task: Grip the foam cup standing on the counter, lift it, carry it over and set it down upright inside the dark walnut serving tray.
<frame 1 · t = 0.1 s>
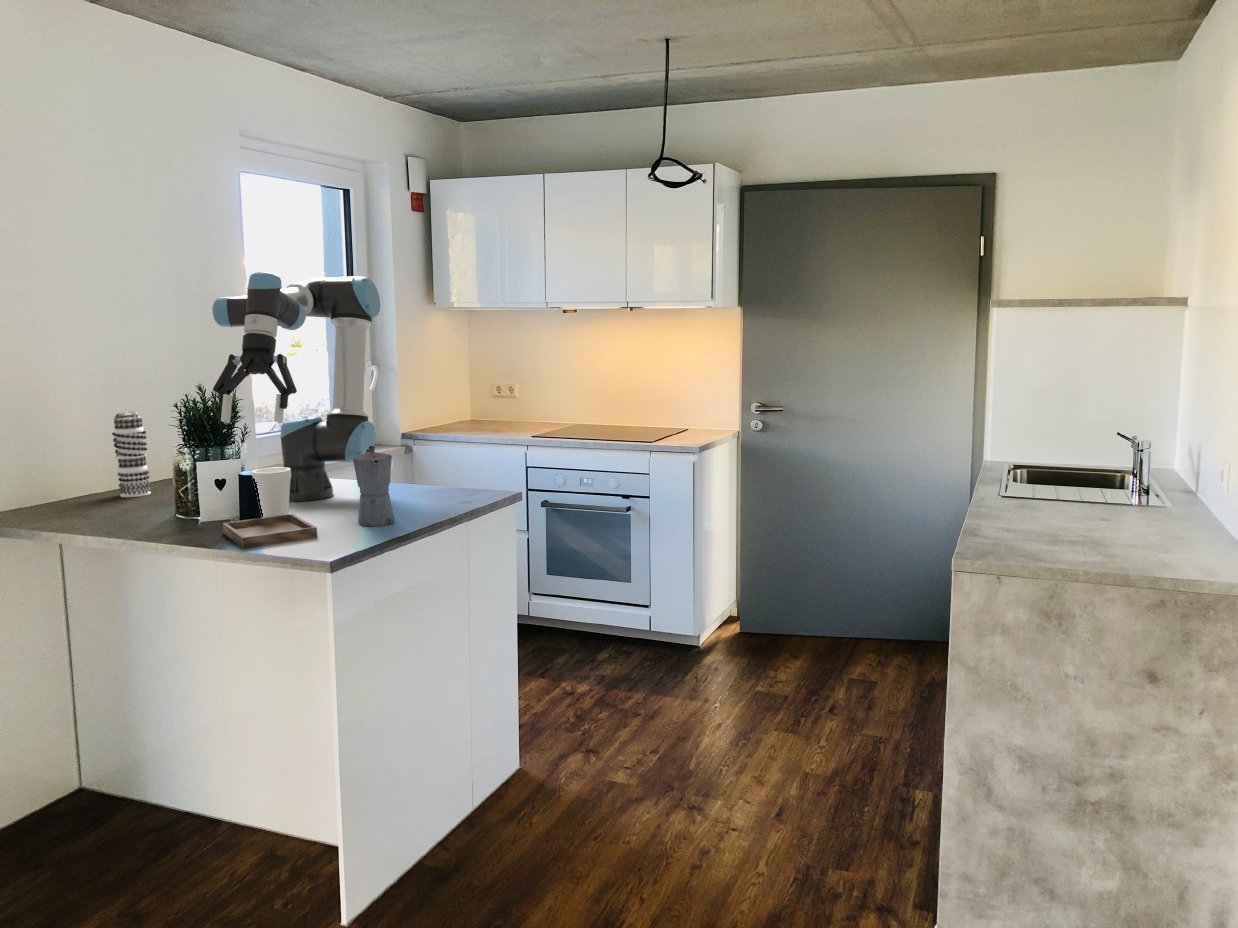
hand: (251, 422, 228), 28 cm above the counter, tool tilted 20°, fingers open, 13 cm apart
moka pot: (375, 523, 245), on the counter
walnut tray: (269, 535, 233), on the counter
foam cup: (275, 519, 252), on the counter
decorative candle: (135, 495, 291), on the counter
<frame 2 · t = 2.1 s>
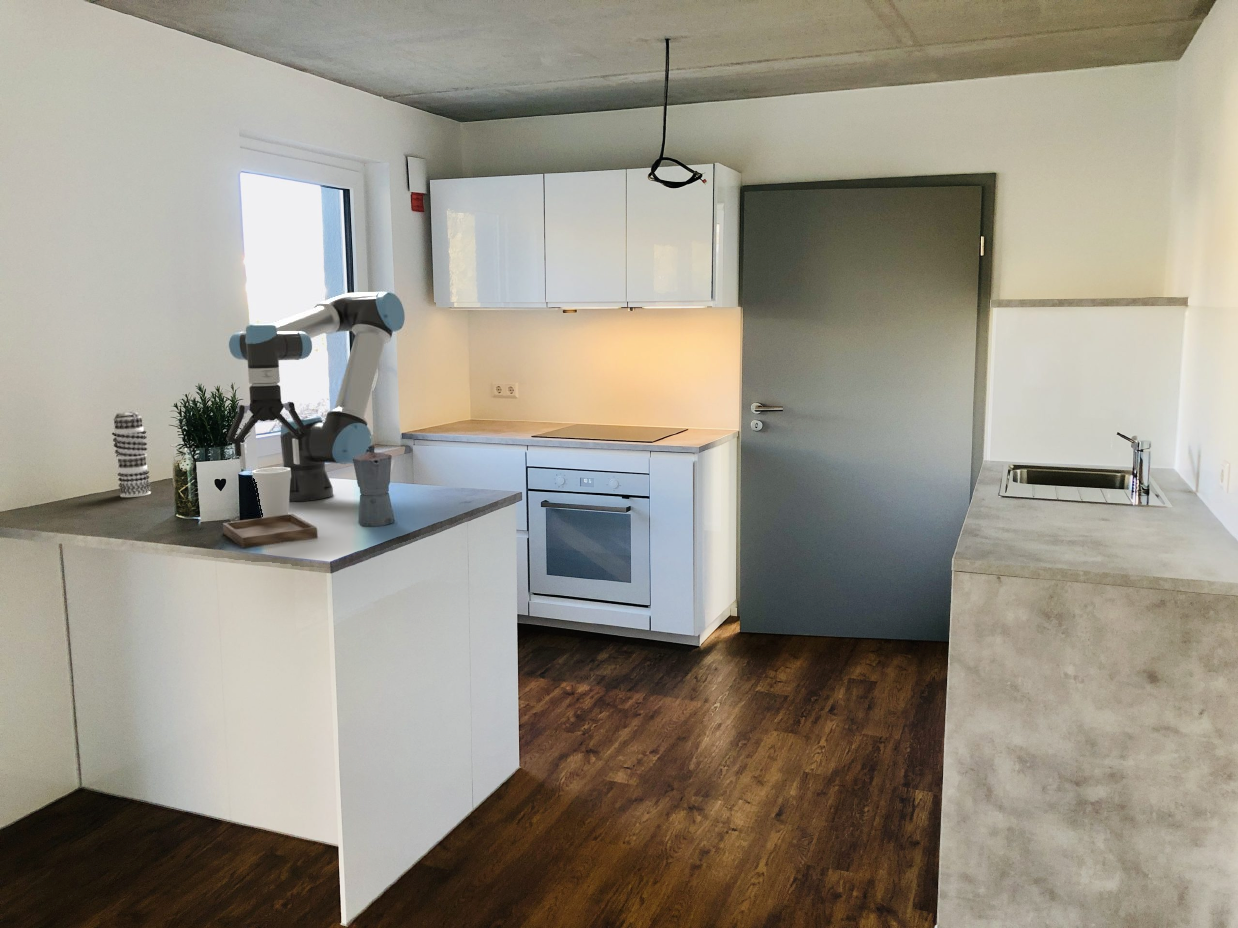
hand: (270, 466, 249), 14 cm above the counter, tool pointing down, fingers open, 13 cm apart
nothing on the counter moved.
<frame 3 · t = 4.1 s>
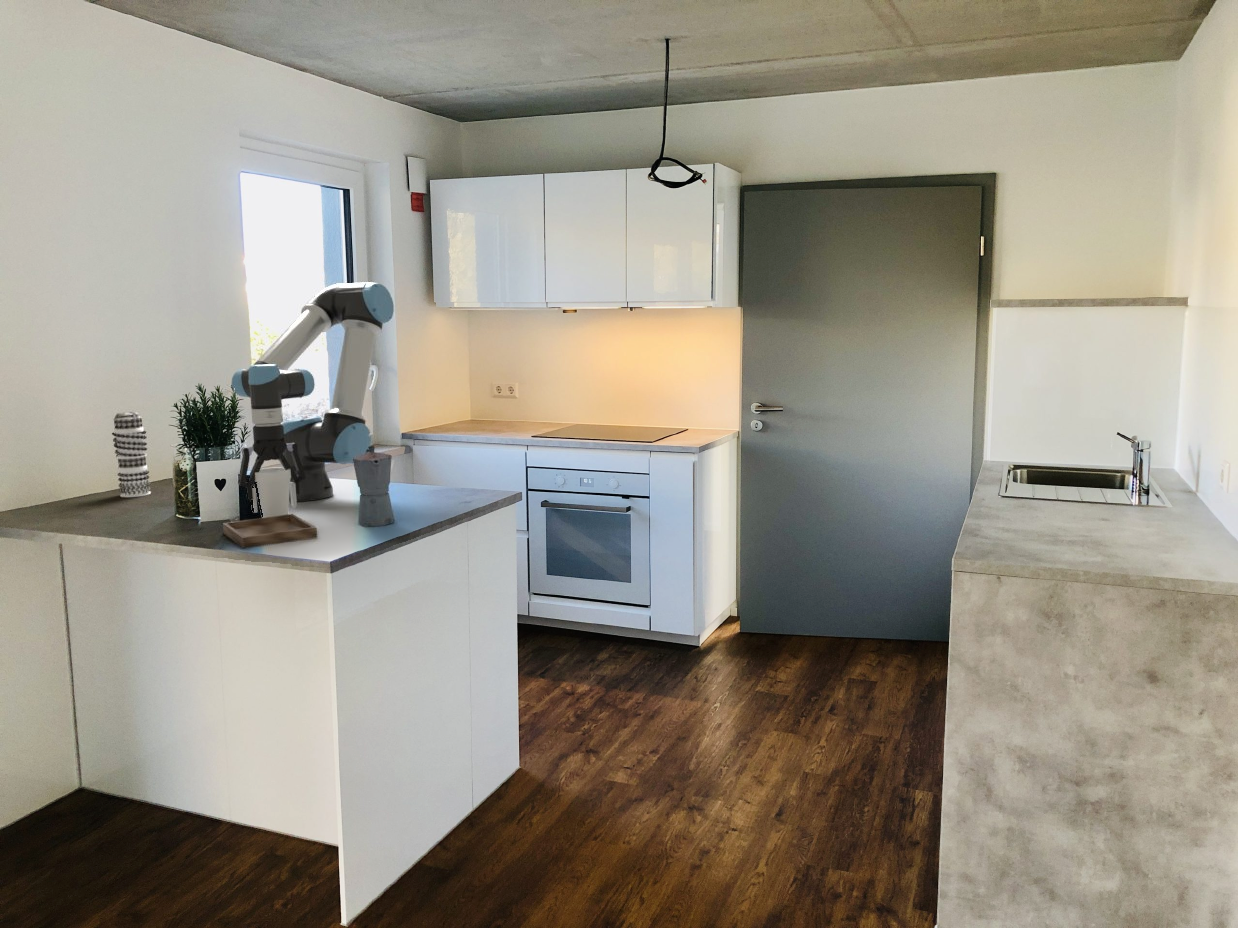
hand: (274, 509, 251), 3 cm above the counter, tool pointing down, fingers closed on foam cup, 9 cm apart
foam cup: (275, 519, 252), on the counter, touching gripper
everything else where it was.
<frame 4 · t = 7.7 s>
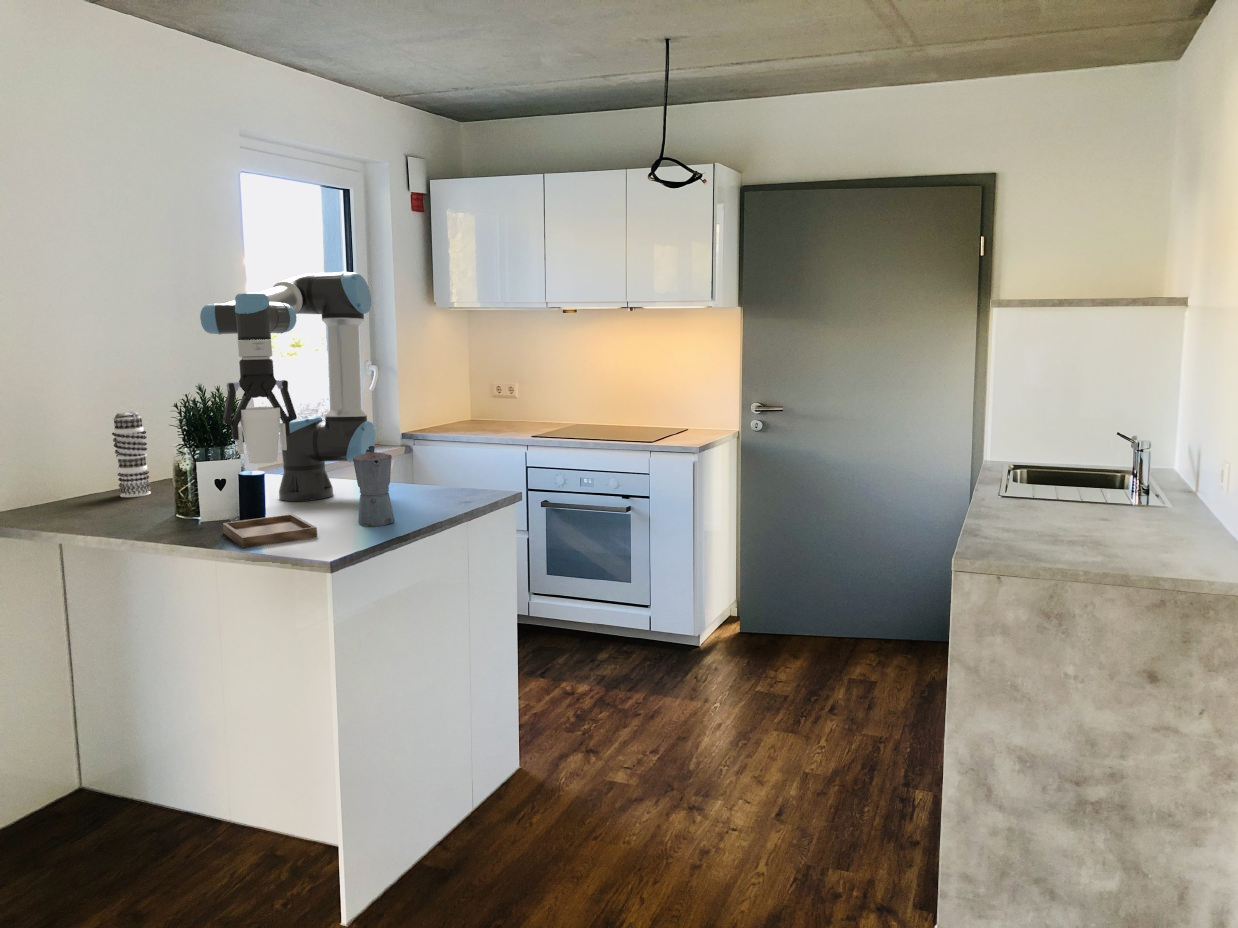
hand: (262, 451, 232), 20 cm above the counter, tool pointing down, fingers closed on foam cup, 9 cm apart
foam cup: (263, 462, 232), point 18 cm above the counter, touching gripper
everything else where it was.
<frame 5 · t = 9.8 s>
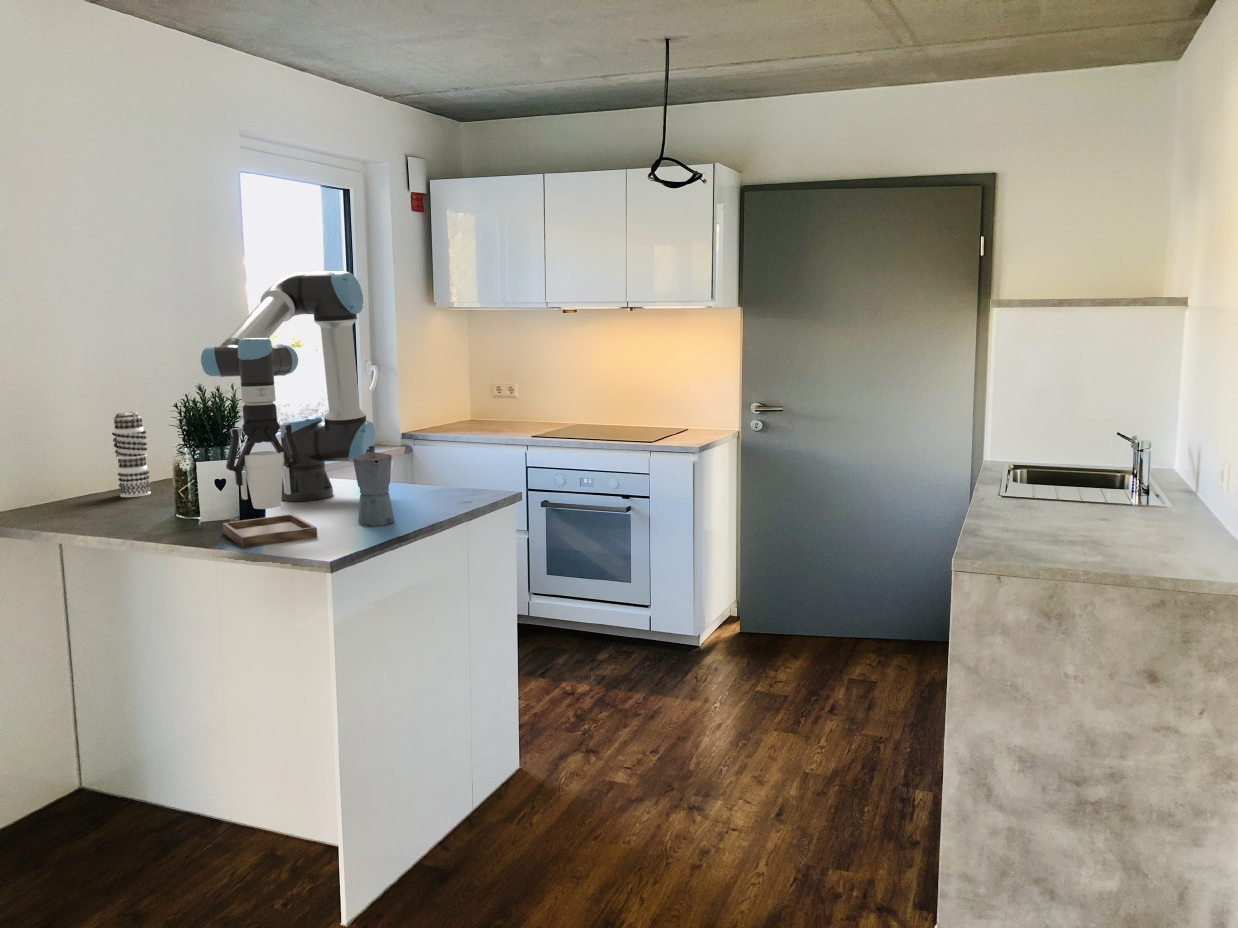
hand: (266, 496, 231), 10 cm above the counter, tool pointing down, fingers closed on foam cup, 9 cm apart
foam cup: (267, 507, 231), point 7 cm above the counter, touching gripper
everything else where it was.
when the fingers open (5 cm above the counter, at t = 11.7 s): foam cup drops 1 cm, resting on walnut tray.
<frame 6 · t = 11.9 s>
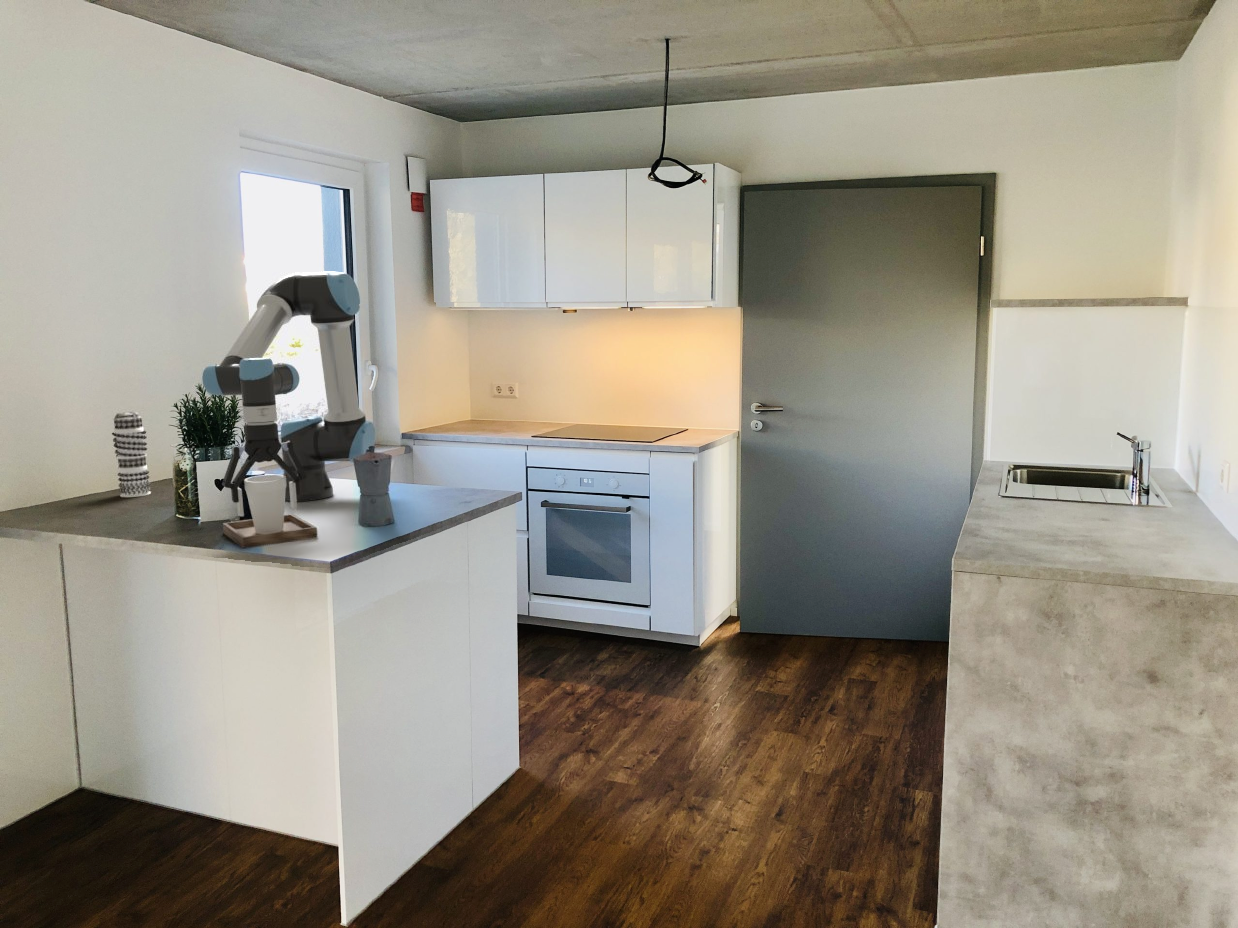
hand: (267, 511, 232), 6 cm above the counter, tool pointing down, fingers open, 12 cm apart
foam cup: (269, 531, 233), point 1 cm above the counter, touching walnut tray
everything else where it was.
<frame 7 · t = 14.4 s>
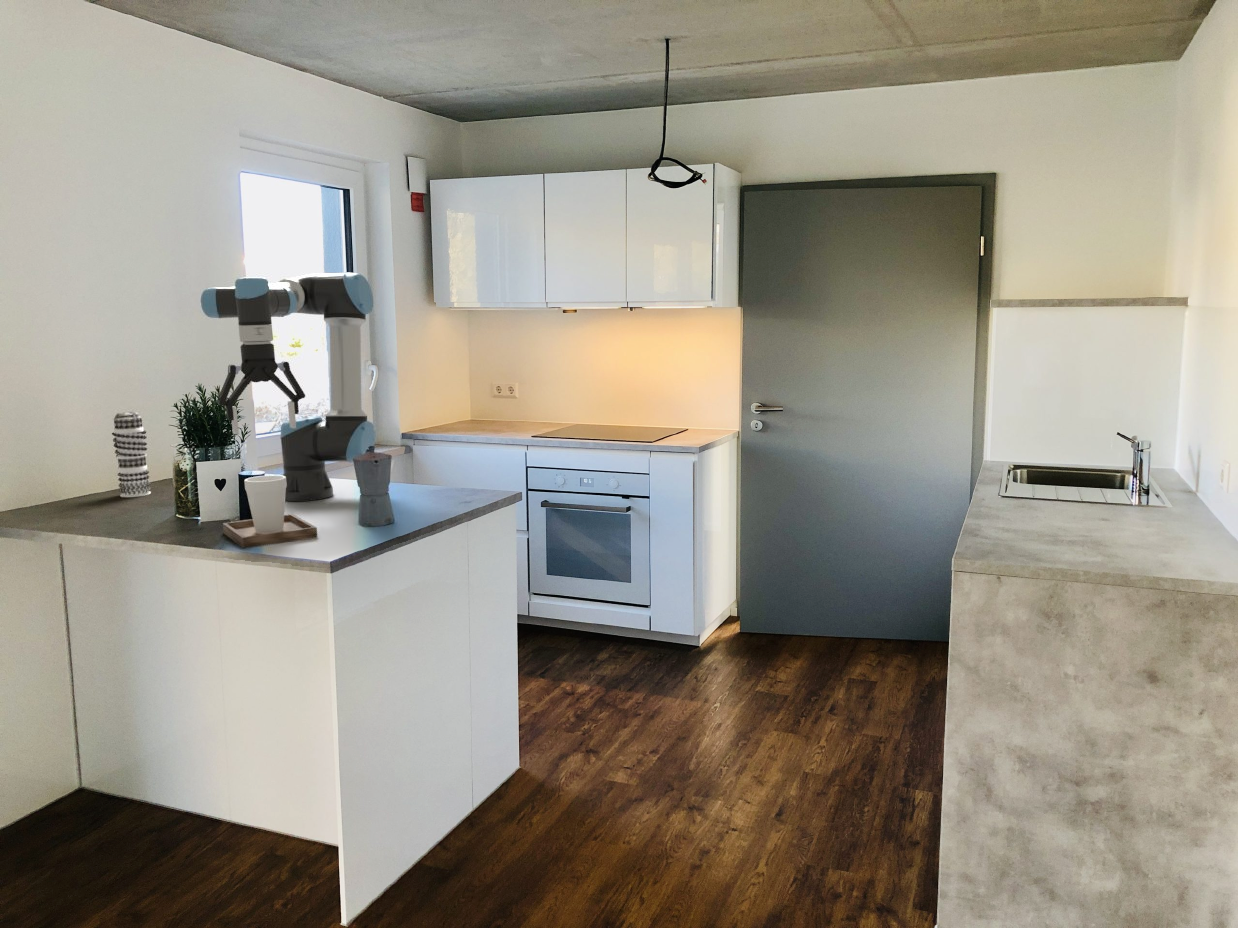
hand: (264, 430, 233), 25 cm above the counter, tool pointing down, fingers open, 13 cm apart
nothing on the counter moved.
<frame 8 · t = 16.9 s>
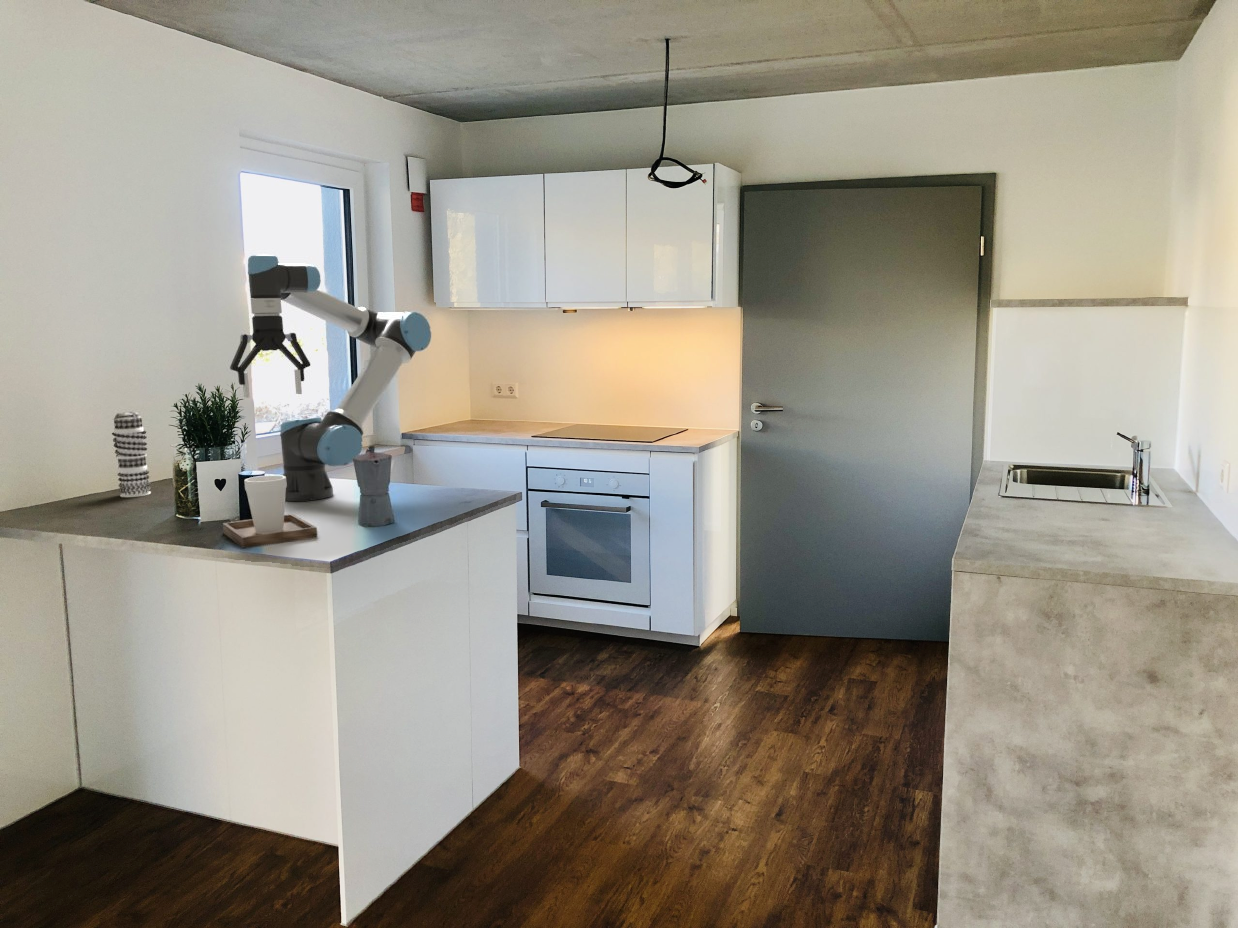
hand: (273, 395, 256), 32 cm above the counter, tool pointing down, fingers open, 13 cm apart
nothing on the counter moved.
at the end: foam cup inside the target area on the walnut tray (0.1 cm from its centre), point 0.8 cm above the walnut tray's base; foam cup tilted 0°; the gripper is holding nothing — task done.
